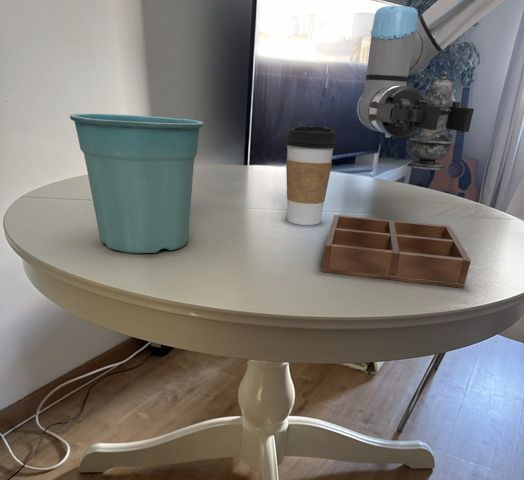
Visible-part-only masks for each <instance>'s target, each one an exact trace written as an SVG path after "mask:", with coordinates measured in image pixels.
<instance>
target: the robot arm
mask: <svg viewBox="0 0 524 480" xmlns="http://www.w3.org/2000/svg"><path fill="white" fill-rule="evenodd" d="M504 1H505V0H436V1H435V2H434V3H433V4H432V5H430V6H429V7H428V8H427V9H426V10H425V11H424V12H423V13H422V14H420V16H419V12H418V10H417V8H415V7H412V6H407V5H406V6H405V5H386V6H381V7H379V8H378V9H377V10H376V11H375V13H374V16H373V17H374V18H373V23H372V28H371V30H370V43H369V52H368V57H367V58H368V59H367V66H366V67H367V68H366V75H365V80H364V88H363V93H362V94H361V95H360V96H359V99H358V101H357V106H356V114H357V118H358V119H359V122H361V124H362V125H363V126H364V127H366V128H367V129H369V130H370V131H375V132H379V133H383V134H385V138H391V136H392V137H396V138H405V137H408V136H410V135H412V134H413V133H415V132H416V131H417V130H418V129H422V128H424V129H428V130H436V128H437V123H438V118H439V113H440V109H441V107H438V106H428V101H427V100H426V99H425V97H424V95H423V94H422V92H421V91H420V90H419V89H418V88H416V87H413V86H409V85H407V84H408V80H409V76H414V75H417V74H419V73H421V72H423V71H424V70H425V69H427V67H428V66H429V64H430V63H431V60H432V59H433V58H435V57H436V56H437V55H438V54H439V53H441V52H442V51H443V50H444V49H446V48H447V47H448V46H449V45H450V44H451V43H453V42H454V41H456V39H458V37H460V36H462V35H463V34H464V33H465V32H466V31H467V30H469V29H470V28H471V27H473V26H474V25H475V24H477V23H478V22H480V20H482V19H483V18H484V17H486V15H487V14H489V13H490V12H491V11H493V10H494V9H495V8H496V7H497V6H499V5H500V4H501V3H503V2H504ZM461 103H462V102H461V101H452V103H451V105H450V107H449V109H450V110H452V111H451V112H450V113H449V114H448V119H447V123H446V130H452V131H458V132H463V133H469V132H470V128H471V123H472V118H473V114H474V111H475V108H471V107H465V106H464V107H461Z"/></svg>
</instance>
